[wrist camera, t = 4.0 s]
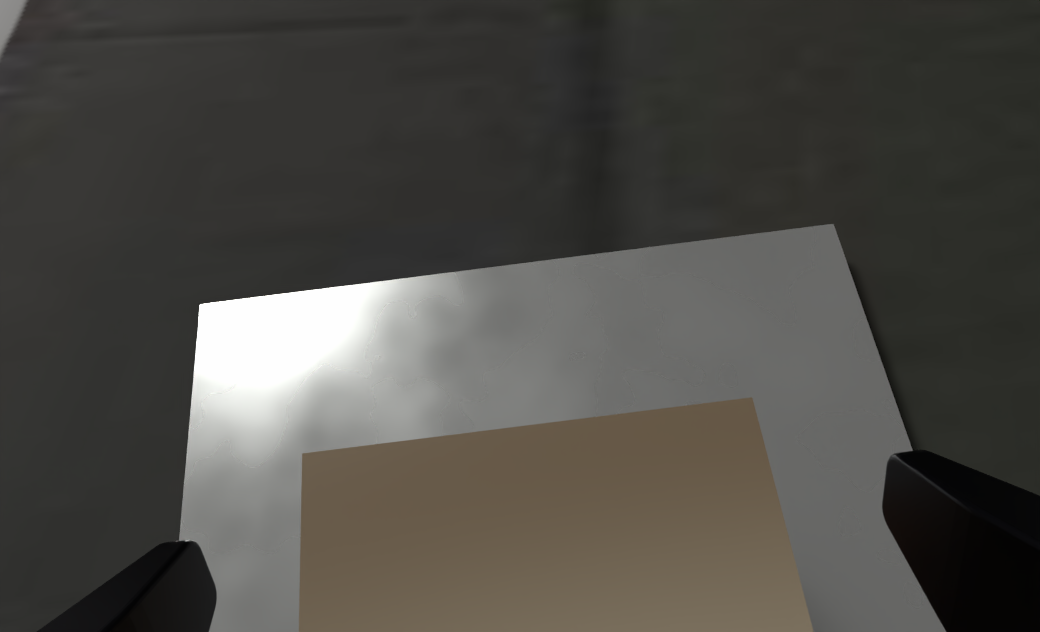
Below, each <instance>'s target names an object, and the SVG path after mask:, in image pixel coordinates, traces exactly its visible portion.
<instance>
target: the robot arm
mask: <svg viewBox="0 0 1040 632" xmlns="http://www.w3.org/2000/svg"><path fill="white" fill-rule="evenodd" d="M882 511H883V516H884V519H885V522H886V524H887V526H888V528H889V530H890V532H891V534H892V535H893V537H894V539H895V541H896V543H897V544H898V546H899V548H900V550H901V552H902V554H903V555H904V557H905V559H906V561H907V563H908V564H909V566H910V568H911V570H912V572H913V573H914V575H915V577H916V579H917V581H918V583H919V584H920V586H921V588H922V590H923V592H924V593H925V595H926V597H927V599H928V601H929V603H930V604H931V606H932V608H933V610H934V612H935V613H936V615H937V617H938V619H939V620H940V622H941V624H942V625H943V627H944V629H945V631H946V632H1040V496H1039V495H1037V494H1034V493H1032V492H1029V491H1027V490H1024V489H1022V488H1019V487H1017V486H1014V485H1012V484H1009V483H1007V482H1004V481H1002V480H999V479H997V478H994V477H992V476H989V475H987V474H984V473H982V472H979V471H977V470H974V469H972V468H969V467H967V466H964V465H962V464H959V463H957V462H954V461H952V460H949V459H947V458H944V457H942V456H939V455H937V454H934V453H932V452H929V451H926V450H915V451H907V452H899V453H894V454H893V455H891V456H890V457H889V459H888V461H887V466H886V474H885V483H884V491H883V500H882ZM216 601H217V591H216V586H215V583H214V580H213V578H212V575H211V573H210V570H209V568H208V565H207V563H206V560H205V558H204V555H203V553H202V550H201V548H200V546H199V544H198V543H197V542H195V541H193V540H181V541H173V542H166V543H162V544H159V545H158V546H156V547H155V548H153V549H152V550H151V551H149V552H148V553H146V554H145V555H144V556H142V557H141V558H139V559H138V560H137V561H135V562H134V563H132V564H131V565H130V566H128V567H127V568H125V569H124V570H123V571H121V572H120V573H118V574H117V575H116V576H114V577H113V578H111V579H110V580H109V581H107V582H106V583H104V584H103V585H102V586H100V587H99V588H97V589H96V590H94V591H93V592H92V593H90V594H89V595H87V596H86V597H85V598H83V599H82V600H80V601H79V602H78V603H76V604H75V605H73V606H72V607H71V608H69V609H68V610H66V611H65V612H64V613H62V614H61V615H59V616H58V617H57V618H55V619H54V620H52V621H51V622H50V623H48V624H47V625H45V626H44V627H43V628H41V629H40V630H38V631H37V632H209V630H210V626H211V622H212V619H213V615H214V611H215V607H216Z"/></svg>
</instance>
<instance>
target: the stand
mask: <svg viewBox="0 0 1040 632" xmlns="http://www.w3.org/2000/svg"><path fill="white" fill-rule="evenodd" d="M750 397H752V398H753V402H754V406H755V409H756V413H757V417H758V421H759V425H760V429H761V432H762V436H763V440H764V444H765V448H766V452H767V455H768V459H769V463H770V467H771V471H772V474H773V478H774V482H775V486H776V490H777V494H778V497H779V501H780V505H781V509H782V513H783V517H784V520H785V524H786V528H787V532H788V536H789V540H790V543H791V547H792V551H793V555H794V559H795V562H796V566H797V570H798V574H799V578H800V582H801V585H802V589H803V593H804V597H805V601H806V605H807V608H808V612H809V616H810V620H811V624H812V627H813V631H814V632H946V631H945V629H944V627H943V625H942V624H941V622H940V620H939V619H938V617H937V615H936V613H935V612H934V610H933V608H932V606H931V604H930V603H929V601H928V599H927V597H926V595H925V593H924V592H923V590H922V588H921V586H920V584H919V583H918V581H917V579H916V577H915V575H914V573H913V572H912V570H911V568H910V566H909V564H908V563H907V561H906V559H905V557H904V555H903V554H902V552H901V550H900V548H899V546H898V544H897V543H896V541H895V539H894V537H893V535H892V534H891V532H890V530H889V528H888V526H887V524H886V522H885V519H884V516H883V511H882V500H883V491H884V483H885V474H886V466H887V461H888V459H889V457H890V456H891V455H893V454H894V453H899V452H907V451H913V450H912V447H911V444H910V441H909V438H908V436H907V433H906V430H905V427H904V424H903V421H902V418H901V416H900V413H899V410H898V407H897V404H896V401H895V398H894V396H893V393H892V390H891V387H890V384H889V381H888V378H887V376H886V373H885V370H884V367H883V364H882V361H881V359H880V356H879V353H878V350H877V347H876V344H875V341H874V339H873V336H872V333H871V330H870V327H869V324H868V321H867V319H866V316H865V313H864V310H863V307H862V304H861V301H860V299H859V296H858V293H857V290H856V287H855V284H854V281H853V279H852V276H851V273H850V270H849V267H848V264H847V261H846V259H845V256H844V253H843V250H842V247H841V244H840V241H839V239H838V236H837V233H836V230H835V227H834V224H829V225H821V226H813V227H805V228H797V229H789V230H782V231H774V232H766V233H758V234H750V235H742V236H734V237H727V238H719V239H711V240H703V241H695V242H687V243H679V244H671V245H664V246H656V247H648V248H640V249H632V250H624V251H616V252H609V253H601V254H593V255H585V256H577V257H569V258H561V259H553V260H546V261H538V262H530V263H522V264H514V265H506V266H498V267H490V268H483V269H475V270H467V271H459V272H451V273H443V274H435V275H428V276H420V277H412V278H404V279H396V280H388V281H380V282H372V283H365V284H357V285H349V286H341V287H333V288H325V289H317V290H310V291H302V292H294V293H286V294H278V295H270V296H262V297H254V298H247V299H239V300H231V301H223V302H215V303H207V304H200V311H199V323H198V334H197V345H196V356H195V368H194V379H193V390H192V402H191V413H190V424H189V435H188V447H187V458H186V469H185V480H184V492H183V503H182V514H181V526H180V537H179V541H181V540H193V541H195V542H197V543H198V544H199V546H200V548H201V550H202V553H203V555H204V558H205V560H206V563H207V565H208V568H209V570H210V573H211V575H212V578H213V580H214V583H215V586H216V591H217V601H216V607H215V611H214V615H213V619H212V622H211V626H210V630H209V632H299V590H300V538H301V486H302V453H310V452H318V451H326V450H334V449H342V448H350V447H358V446H366V445H374V444H382V443H390V442H398V441H406V440H414V439H422V438H430V437H438V436H446V435H454V434H462V433H470V432H478V431H486V430H494V429H502V428H510V427H518V426H526V425H534V424H542V423H550V422H558V421H566V420H574V419H582V418H590V417H598V416H606V415H614V414H622V413H630V412H638V411H646V410H654V409H662V408H670V407H678V406H686V405H694V404H702V403H710V402H718V401H726V400H734V399H742V398H750Z"/></svg>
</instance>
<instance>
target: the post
mask: <svg viewBox="0 0 1040 632" xmlns="http://www.w3.org/2000/svg"><path fill="white" fill-rule="evenodd" d="M299 632H814V631H813V627H812V624H811V620H810V616H809V612H808V608H807V605H806V601H805V597H804V593H803V589H802V585H801V582H800V578H799V574H798V570H797V566H796V562H795V559H794V555H793V551H792V547H791V543H790V540H789V536H788V532H787V528H786V524H785V520H784V517H783V513H782V509H781V505H780V501H779V497H778V494H777V490H776V486H775V482H774V478H773V474H772V471H771V467H770V463H769V459H768V455H767V452H766V448H765V444H764V440H763V436H762V432H761V429H760V425H759V421H758V417H757V413H756V409H755V406H754V402H753V398H752V397H750V398H742V399H734V400H726V401H718V402H710V403H702V404H694V405H686V406H678V407H670V408H662V409H654V410H646V411H638V412H630V413H622V414H614V415H606V416H598V417H590V418H582V419H574V420H566V421H558V422H550V423H542V424H534V425H526V426H518V427H510V428H502V429H494V430H486V431H478V432H470V433H462V434H454V435H446V436H438V437H430V438H422V439H414V440H406V441H398V442H390V443H382V444H374V445H366V446H358V447H350V448H342V449H334V450H326V451H318V452H310V453H302V486H301V538H300V590H299Z"/></svg>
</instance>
